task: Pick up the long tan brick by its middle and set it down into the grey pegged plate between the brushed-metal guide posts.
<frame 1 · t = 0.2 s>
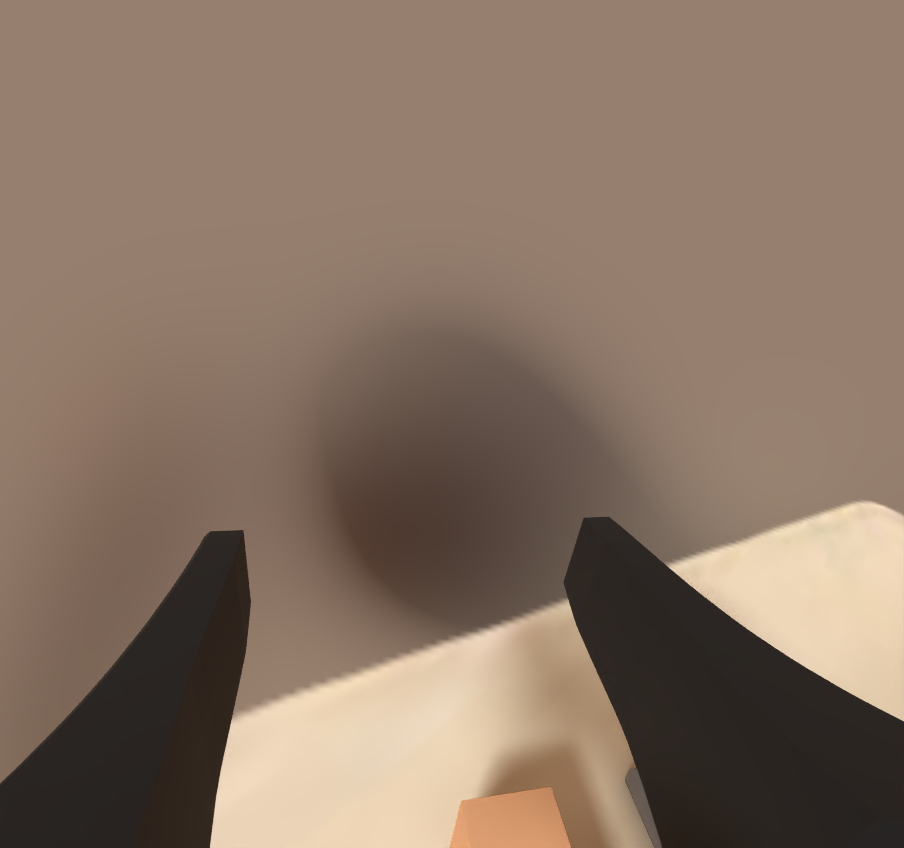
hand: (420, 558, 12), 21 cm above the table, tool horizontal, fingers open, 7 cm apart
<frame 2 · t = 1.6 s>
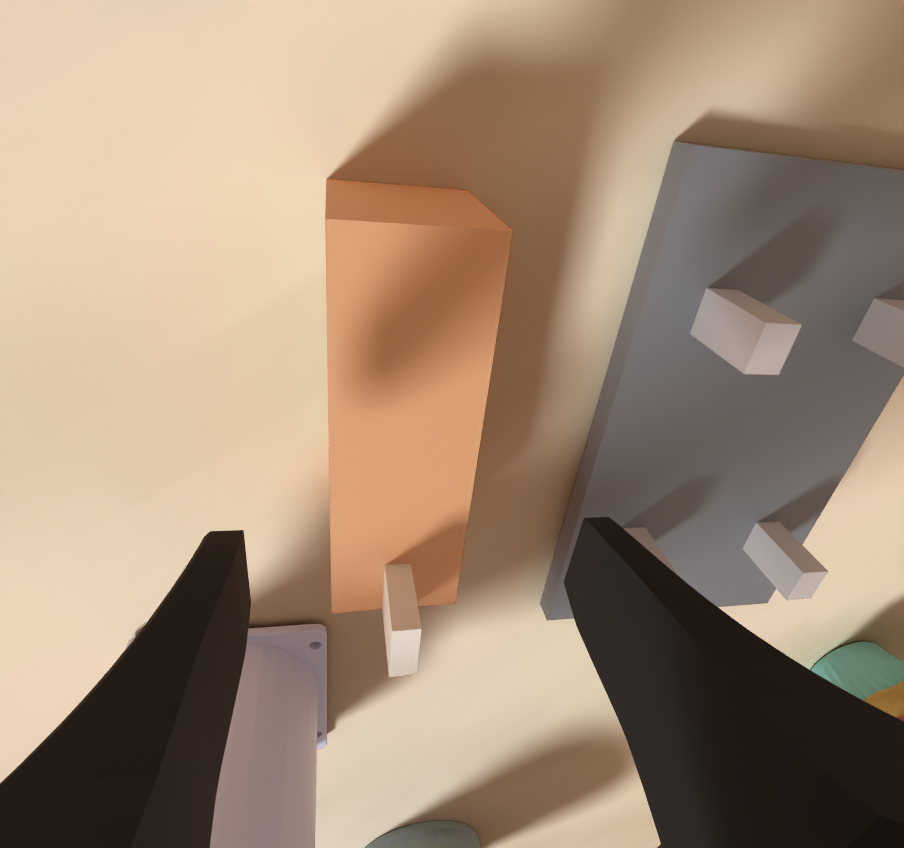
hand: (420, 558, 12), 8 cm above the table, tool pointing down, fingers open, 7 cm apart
long tan brick: (389, 372, 19), on the table
grey pegged plate: (725, 427, 23), on the table
drinking glass: (414, 847, 39), on the table
cupcake: (837, 662, 36), on the table
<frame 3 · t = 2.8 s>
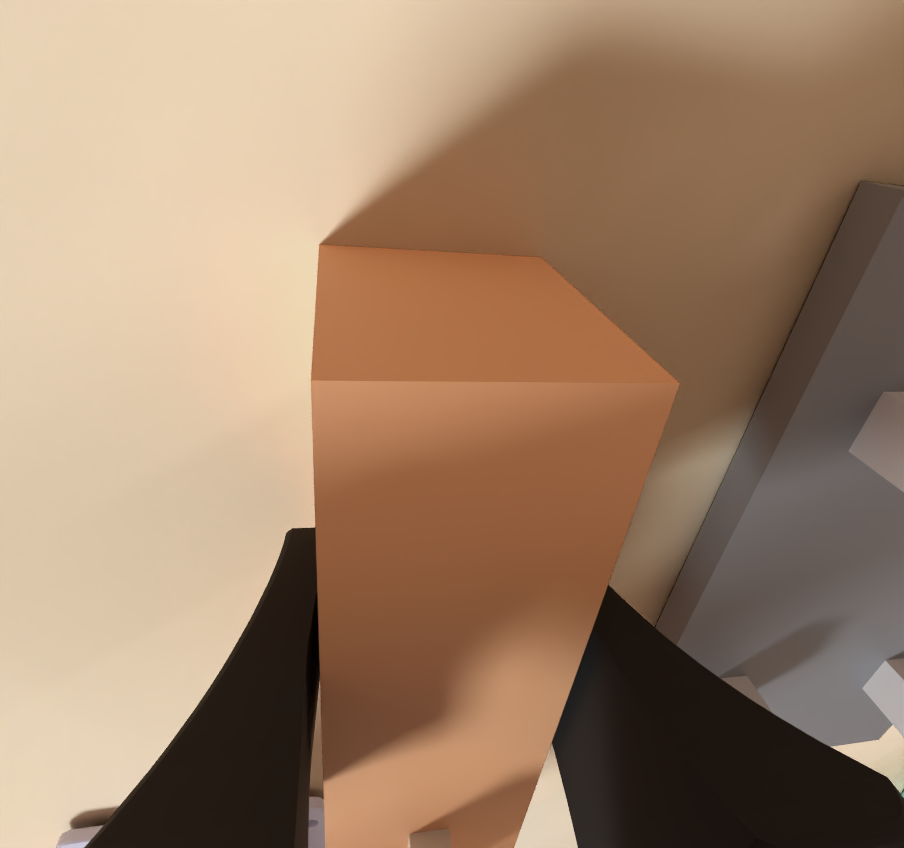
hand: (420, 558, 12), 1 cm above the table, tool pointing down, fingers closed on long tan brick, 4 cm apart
long tan brick: (412, 509, 13), on the table, touching gripper
grey pegged plate: (860, 549, 17), on the table
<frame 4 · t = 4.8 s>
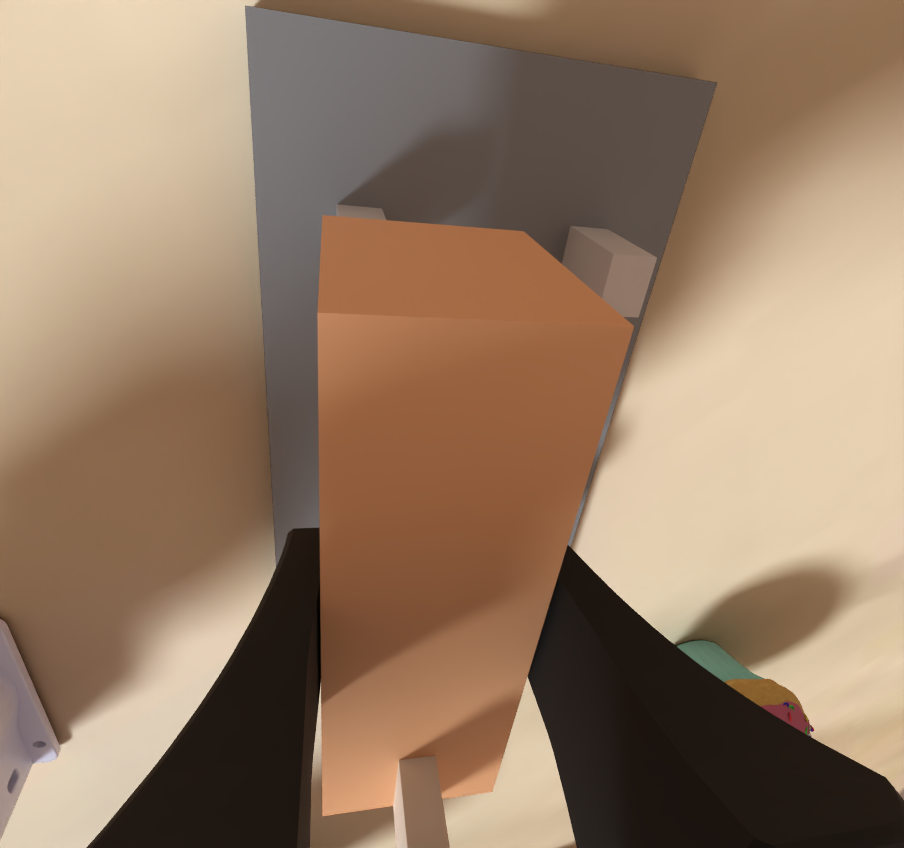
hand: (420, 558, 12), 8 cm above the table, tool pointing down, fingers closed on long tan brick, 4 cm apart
long tan brick: (404, 469, 14), point 6 cm above the table, touching gripper
grey pegged plate: (448, 388, 20), on the table
cupcake: (678, 663, 33), on the table
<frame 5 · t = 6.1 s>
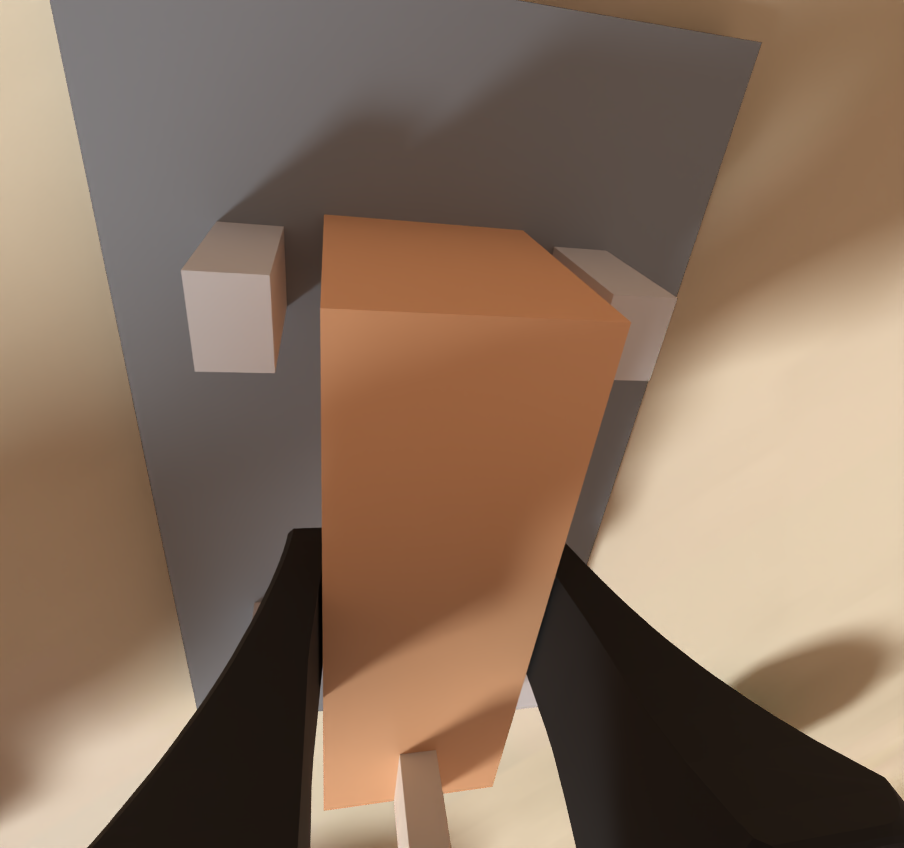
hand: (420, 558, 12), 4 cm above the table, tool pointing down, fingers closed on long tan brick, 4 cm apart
long tan brick: (405, 466, 14), point 1 cm above the table, touching grey pegged plate, gripper
grey pegged plate: (400, 453, 15), on the table
when the fingers open (4 cm above the table, at t = 6.7 s): long tan brick stays where it is, resting on grey pegged plate.
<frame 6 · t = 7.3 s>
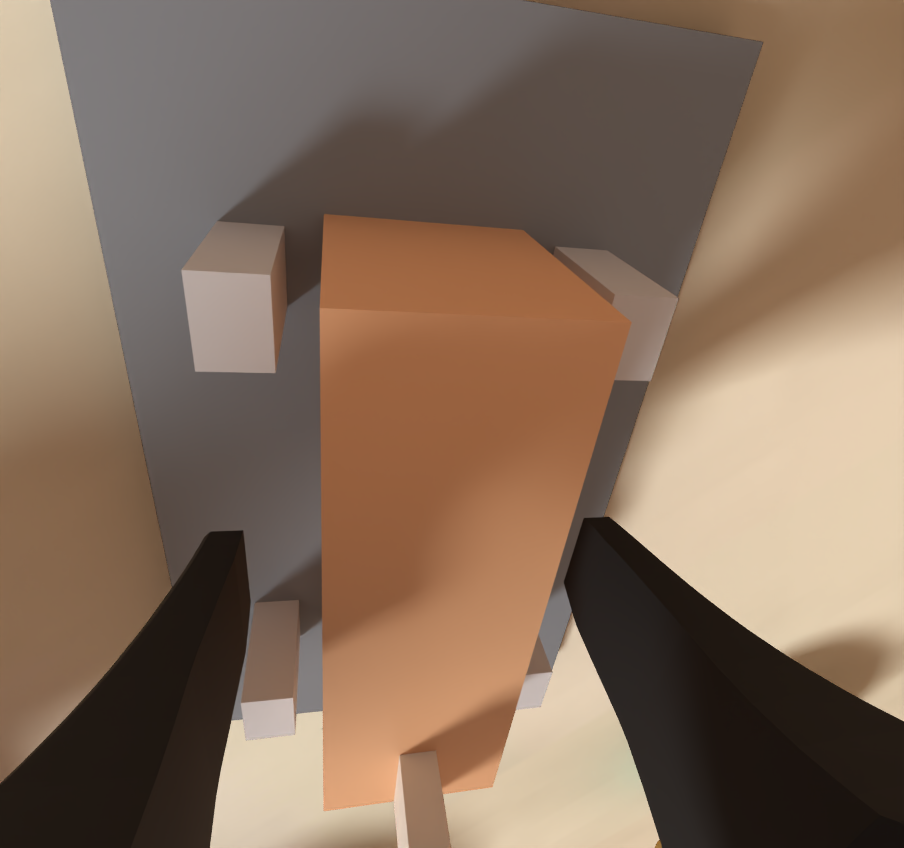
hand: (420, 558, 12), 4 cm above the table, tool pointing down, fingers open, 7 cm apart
long tan brick: (405, 466, 14), point 1 cm above the table, touching grey pegged plate
grey pegged plate: (401, 453, 15), on the table
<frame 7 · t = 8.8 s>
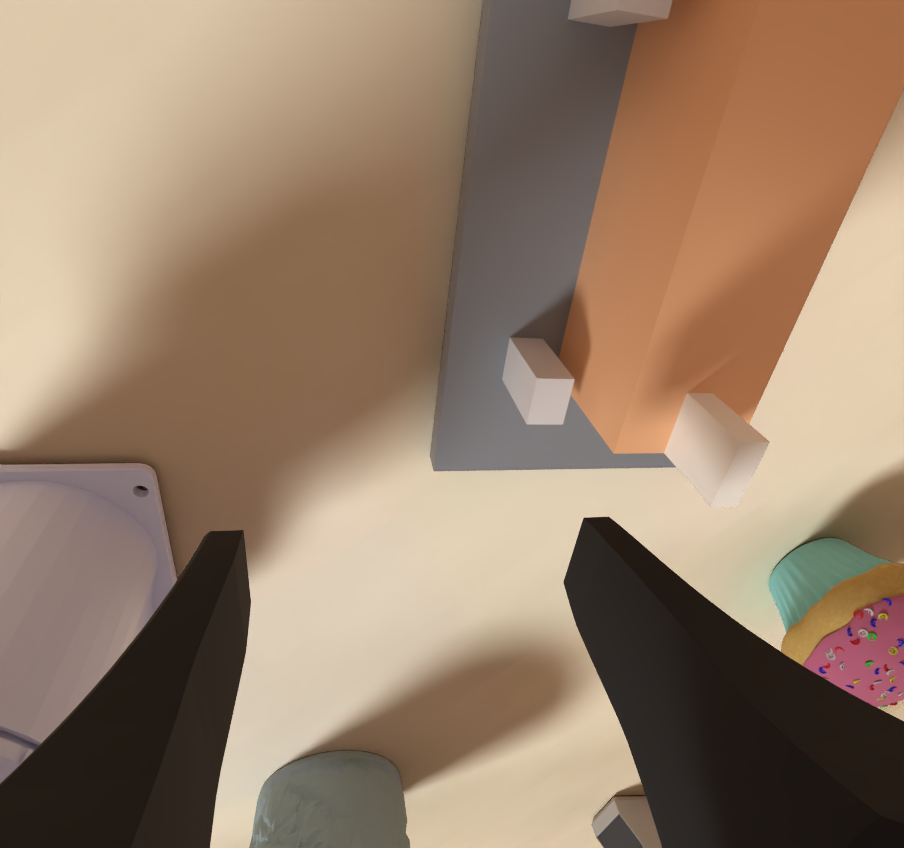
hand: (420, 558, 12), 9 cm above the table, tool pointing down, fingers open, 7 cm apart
long tan brick: (656, 201, 17), point 1 cm above the table, touching grey pegged plate
grey pegged plate: (639, 204, 18), on the table
drinking glass: (327, 785, 34), on the table
cupcake: (802, 566, 31), on the table
vintage mobile phone: (625, 804, 44), on the table
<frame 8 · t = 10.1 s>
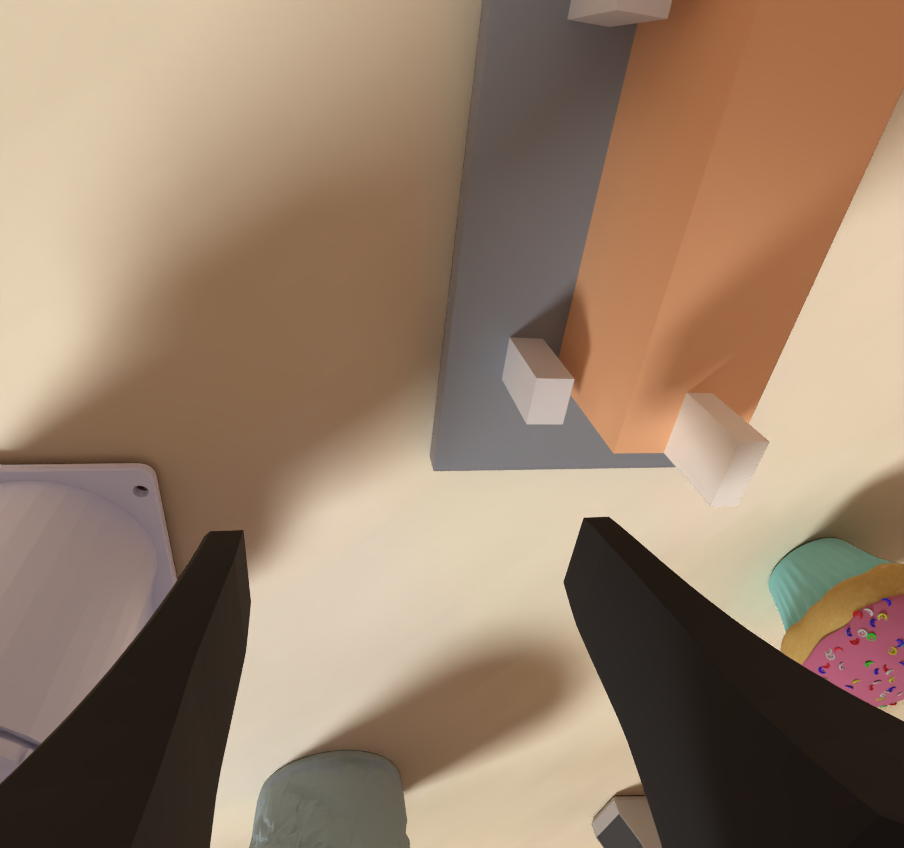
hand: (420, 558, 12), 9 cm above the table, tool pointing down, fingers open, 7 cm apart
long tan brick: (655, 201, 17), point 1 cm above the table, touching grey pegged plate
grey pegged plate: (639, 204, 18), on the table
drinking glass: (327, 785, 34), on the table
cupcake: (802, 566, 31), on the table
vintage mobile phone: (625, 803, 44), on the table
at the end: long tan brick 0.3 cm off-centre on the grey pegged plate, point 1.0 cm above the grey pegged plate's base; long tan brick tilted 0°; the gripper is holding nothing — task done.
